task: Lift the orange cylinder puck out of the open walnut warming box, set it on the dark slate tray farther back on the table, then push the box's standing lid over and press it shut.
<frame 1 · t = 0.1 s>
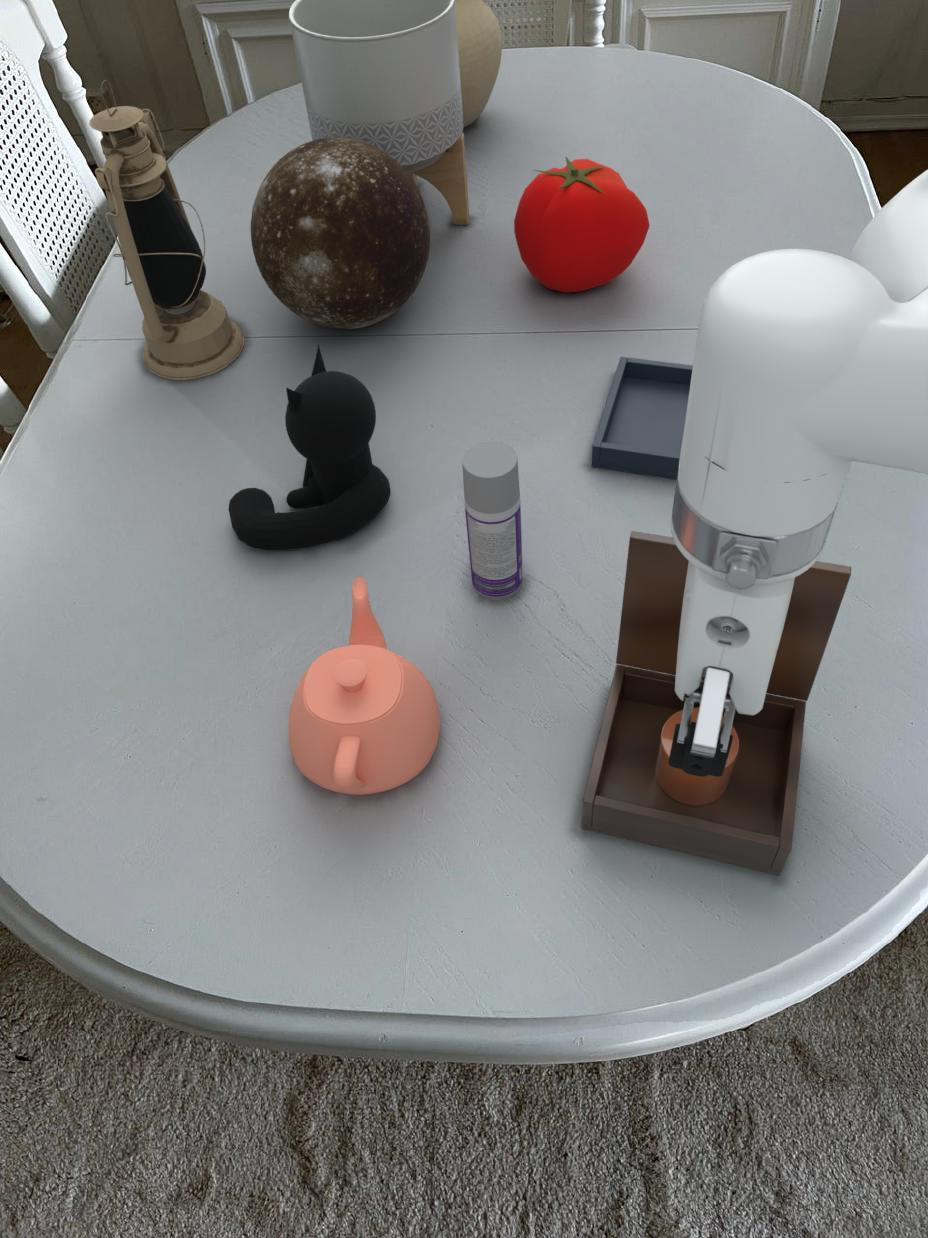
hand: (706, 701, 61), 16 cm above the table, tool pointing down, fingers open, 9 cm apart
figurine: (317, 511, 97), on the table
teapot: (369, 730, 80), on the table
container: (497, 582, 89), on the table
decorative sphere: (355, 314, 117), on the table
brown wooden shallow box: (690, 778, 75), on the table
orange cylinder puck: (692, 773, 75), point 1 cm above the table, touching brown wooden shallow box
planter: (399, 221, 130), on the table
vase: (449, 122, 146), on the table
lantern: (194, 348, 115), on the table
lid: (723, 619, 70), point 11 cm above the table, hinge at 95.0°
tomato: (580, 278, 119), on the table
tray: (700, 433, 100), on the table
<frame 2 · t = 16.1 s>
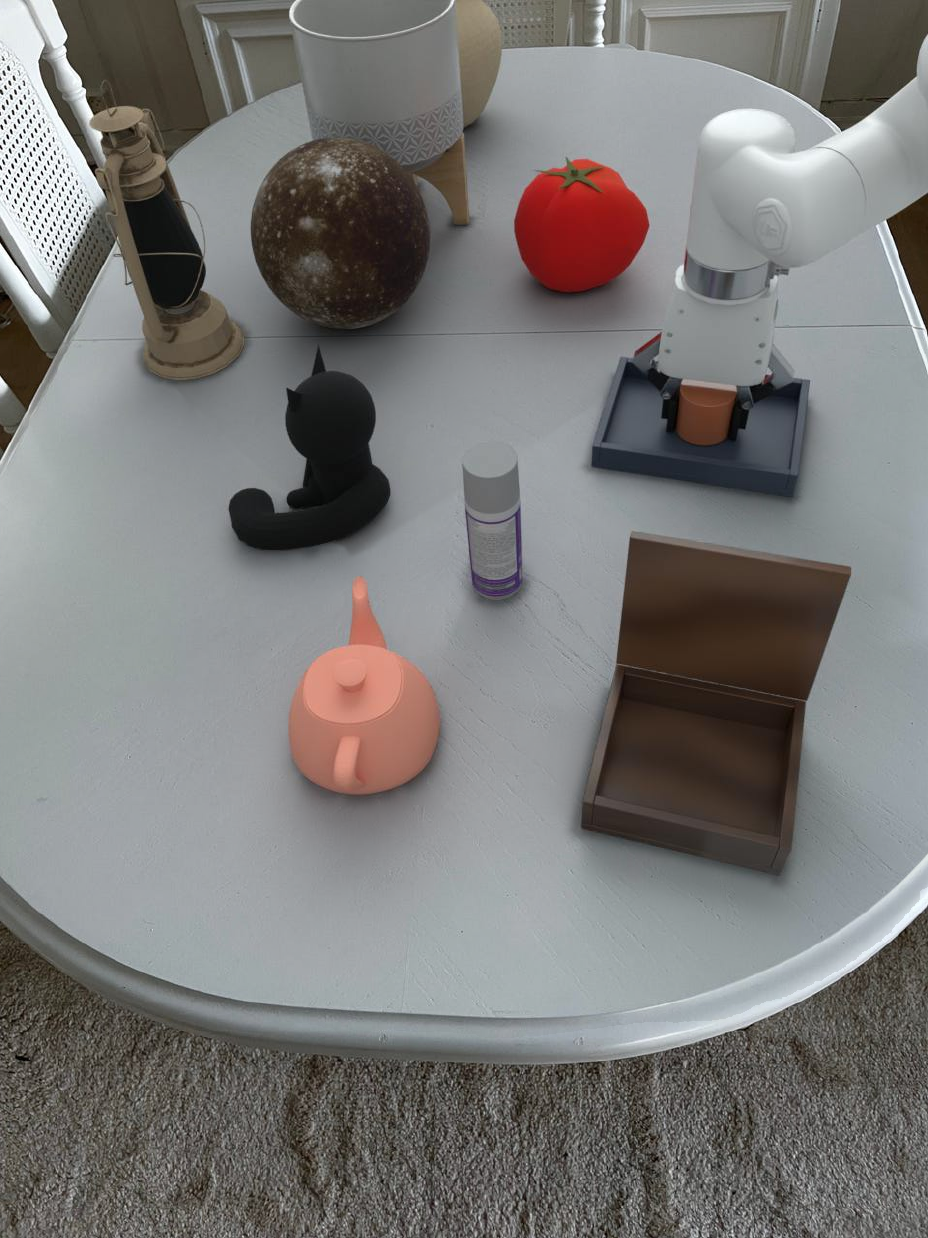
hand: (702, 425, 99), 1 cm above the table, tool pointing down, fingers closed on orange cylinder puck, 5 cm apart
orange cylinder puck: (702, 427, 99), point 1 cm above the table, touching gripper
everything else where it was.
when the fingers open (2 cm above the table, at t = 23.5 s): orange cylinder puck drops 1 cm, resting on tray.
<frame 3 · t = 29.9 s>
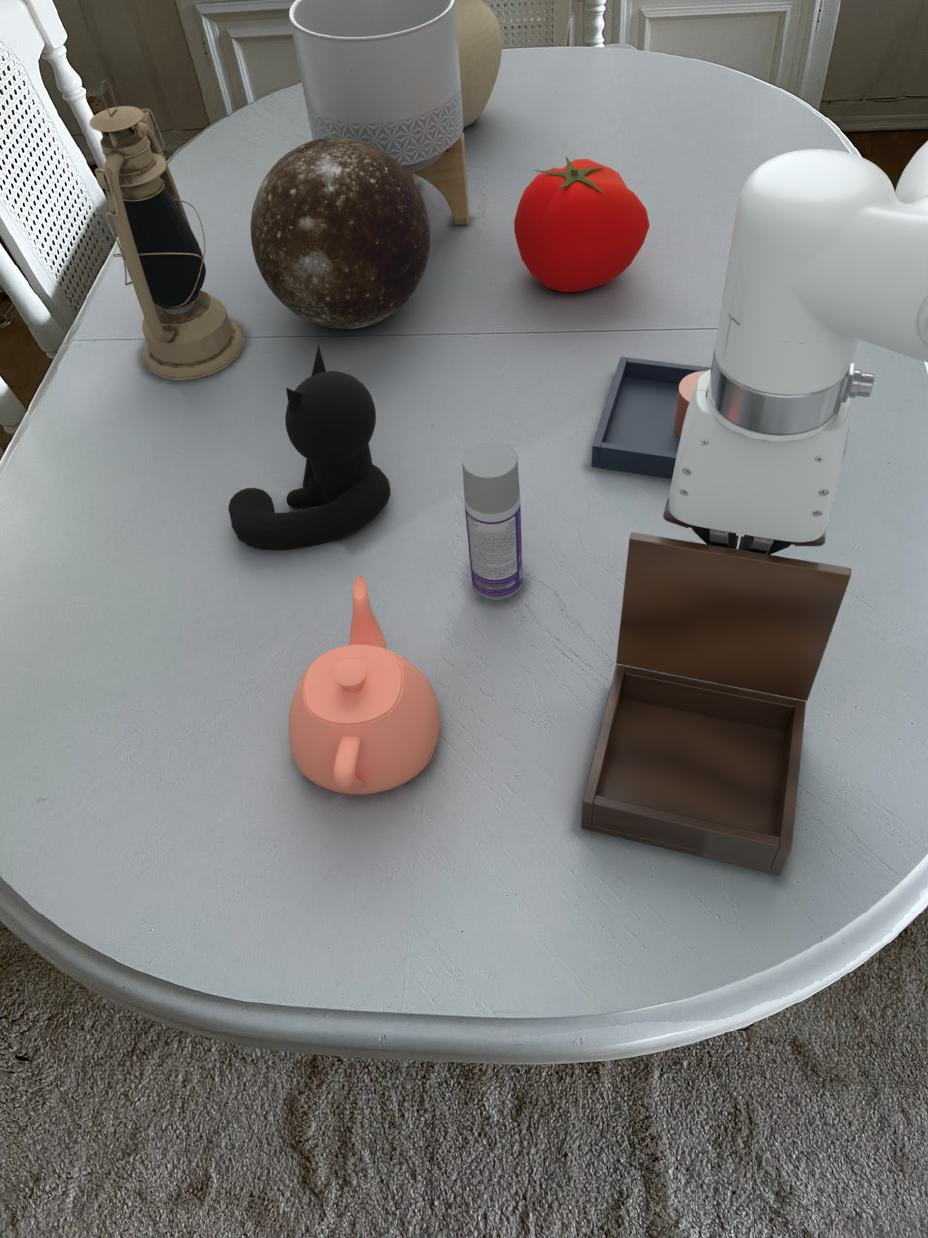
hand: (729, 584, 71), 13 cm above the table, tool pointing down, fingers closed
orange cylinder puck: (701, 427, 99), point 1 cm above the table, touching tray
lid: (723, 620, 70), point 11 cm above the table, hinge at 94.4°, touching gripper
everything else where it was.
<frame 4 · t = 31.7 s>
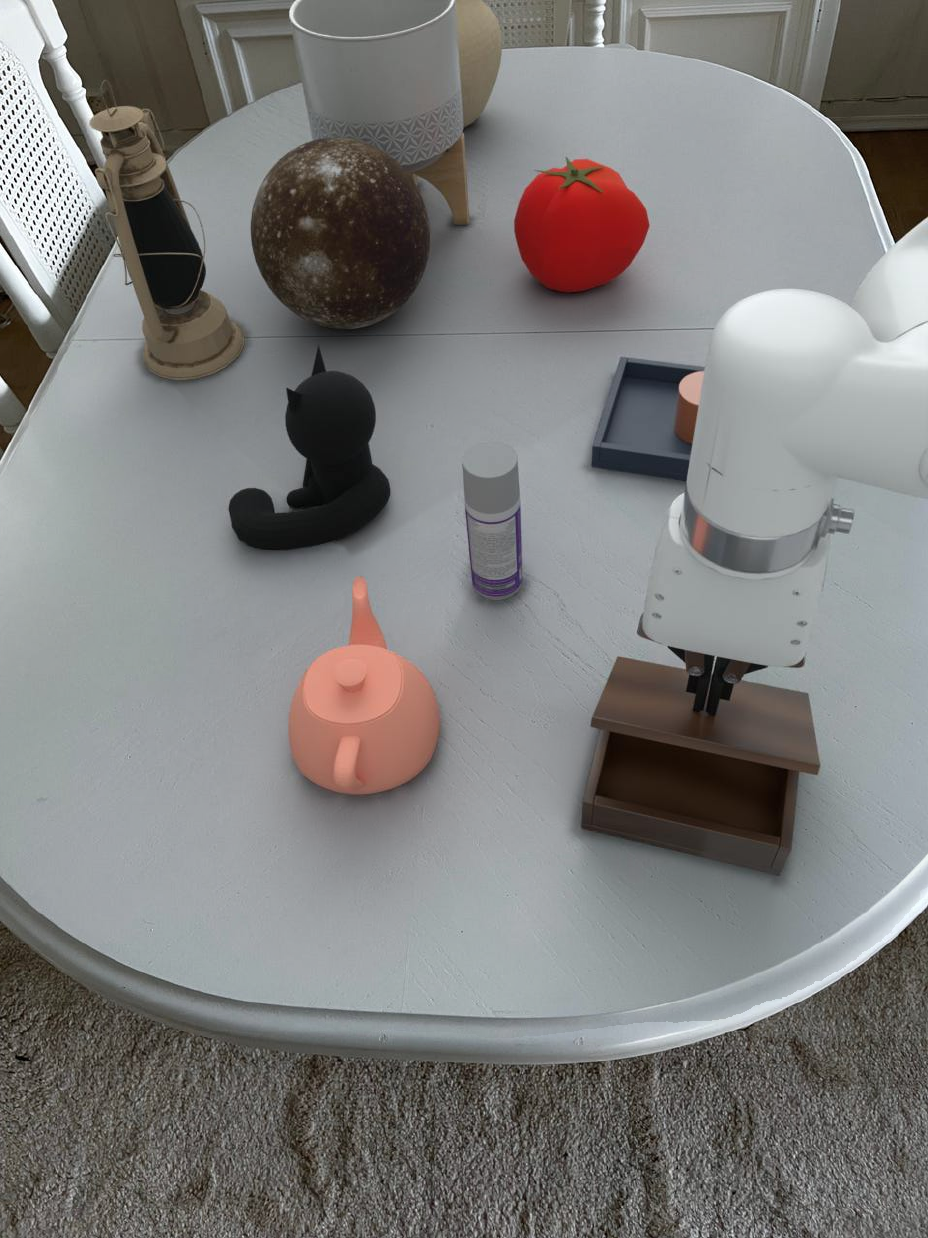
hand: (706, 696, 68), 10 cm above the table, tool pointing down, fingers closed
lid: (706, 709, 69), point 9 cm above the table, hinge at 35.1°
everything else where it was.
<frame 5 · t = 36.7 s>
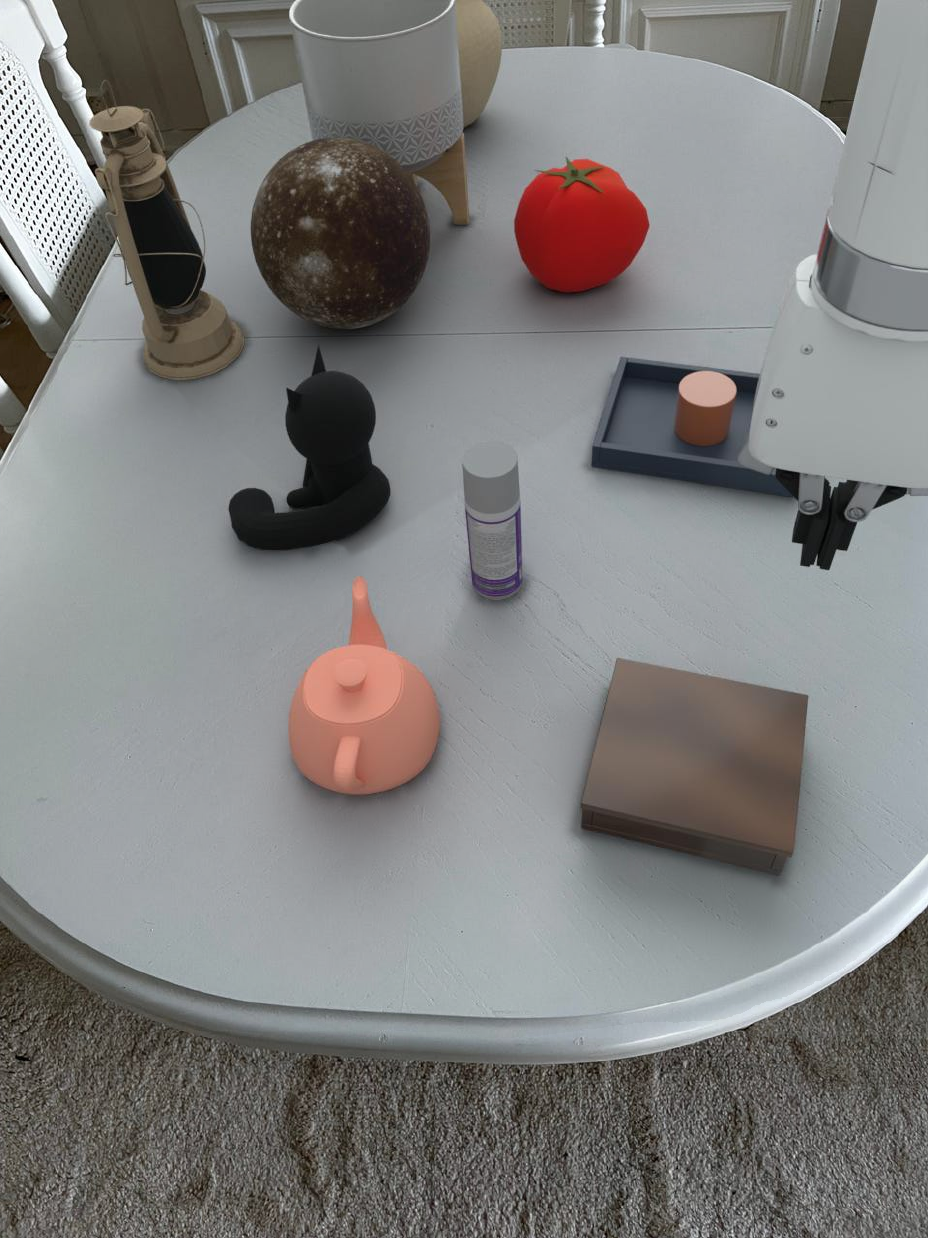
hand: (816, 549, 56), 25 cm above the table, tool pointing down, fingers closed
lid: (697, 750, 71), point 5 cm above the table, hinge at 1.3°
everything else where it was.
at the end: orange cylinder puck inside the target area in the tray (0.1 cm from its centre), point 0.8 cm above the tray's base; orange cylinder puck tilted 0°; lid at +1° (first picture: +95°) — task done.
